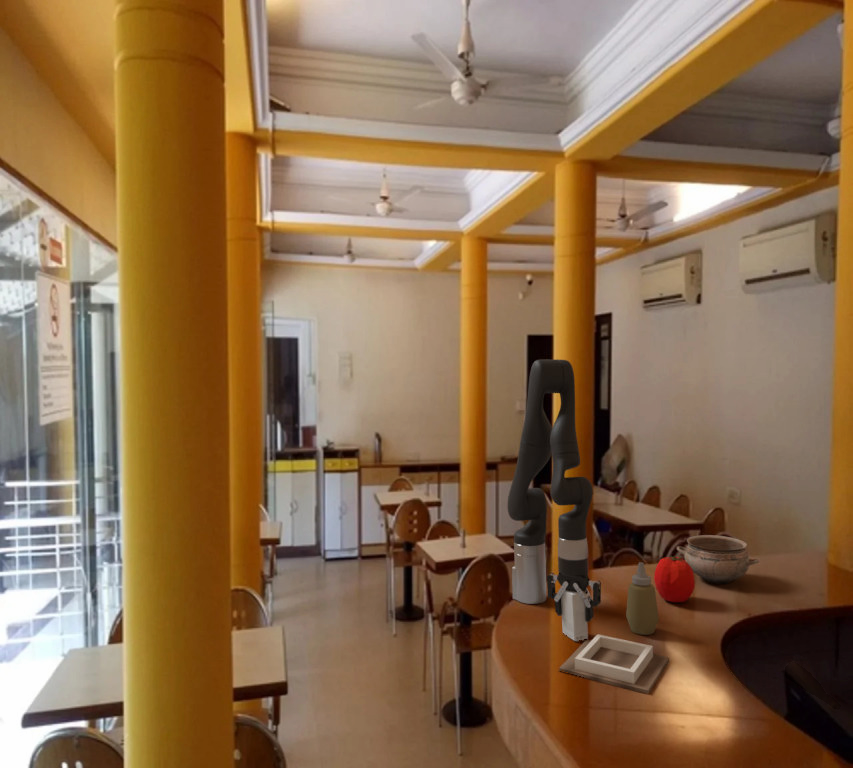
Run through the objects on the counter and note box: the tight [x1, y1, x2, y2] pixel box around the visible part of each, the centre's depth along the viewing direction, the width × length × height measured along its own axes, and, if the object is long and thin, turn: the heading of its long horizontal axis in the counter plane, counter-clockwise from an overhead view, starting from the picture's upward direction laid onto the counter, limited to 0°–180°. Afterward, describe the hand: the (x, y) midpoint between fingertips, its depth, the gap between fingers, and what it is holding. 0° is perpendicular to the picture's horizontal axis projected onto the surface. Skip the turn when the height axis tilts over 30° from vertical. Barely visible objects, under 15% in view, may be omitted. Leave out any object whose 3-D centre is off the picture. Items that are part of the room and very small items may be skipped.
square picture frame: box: [575, 633, 654, 684], centre depth 150 cm, size 13×15×2 cm
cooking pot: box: [676, 534, 760, 585], centre depth 207 cm, size 25×19×12 cm
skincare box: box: [561, 591, 589, 642], centre depth 167 cm, size 6×4×12 cm
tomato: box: [653, 555, 696, 603], centre depth 190 cm, size 12×12×13 cm
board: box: [558, 639, 670, 695], centre depth 150 cm, size 20×18×1 cm
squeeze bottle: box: [625, 561, 660, 636], centre depth 169 cm, size 8×8×18 cm
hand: (574, 617), depth 167 cm, fingers closed on skincare box, 7 cm apart
